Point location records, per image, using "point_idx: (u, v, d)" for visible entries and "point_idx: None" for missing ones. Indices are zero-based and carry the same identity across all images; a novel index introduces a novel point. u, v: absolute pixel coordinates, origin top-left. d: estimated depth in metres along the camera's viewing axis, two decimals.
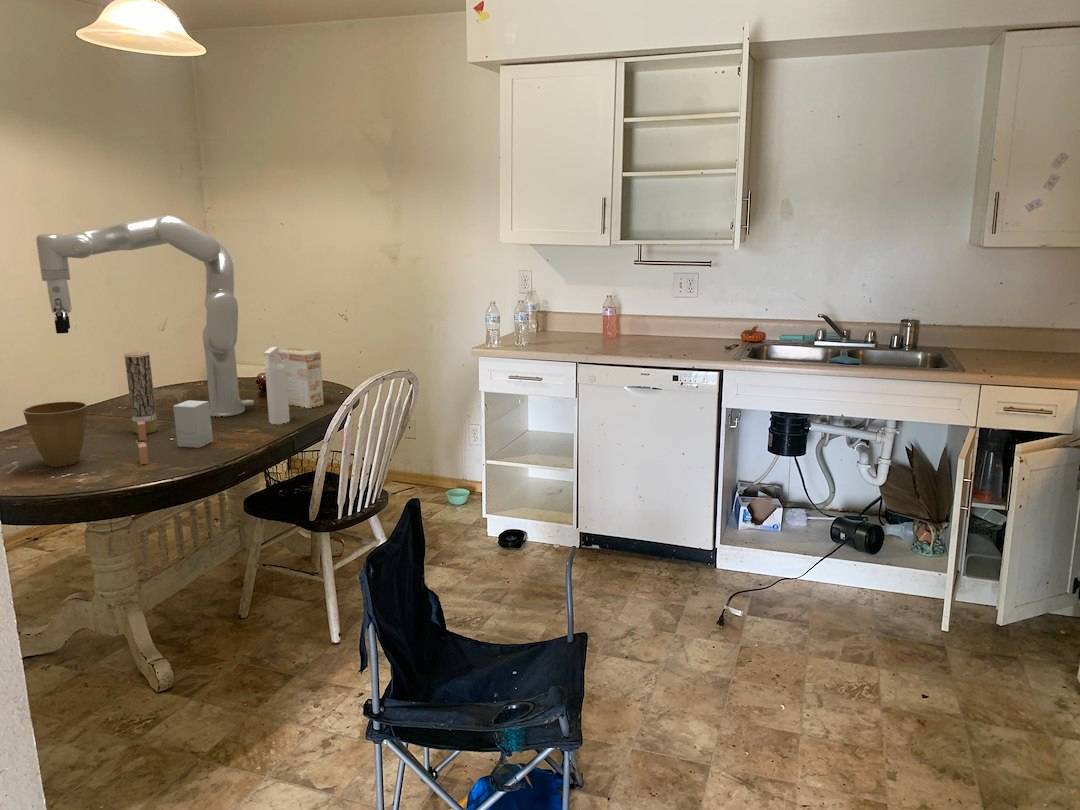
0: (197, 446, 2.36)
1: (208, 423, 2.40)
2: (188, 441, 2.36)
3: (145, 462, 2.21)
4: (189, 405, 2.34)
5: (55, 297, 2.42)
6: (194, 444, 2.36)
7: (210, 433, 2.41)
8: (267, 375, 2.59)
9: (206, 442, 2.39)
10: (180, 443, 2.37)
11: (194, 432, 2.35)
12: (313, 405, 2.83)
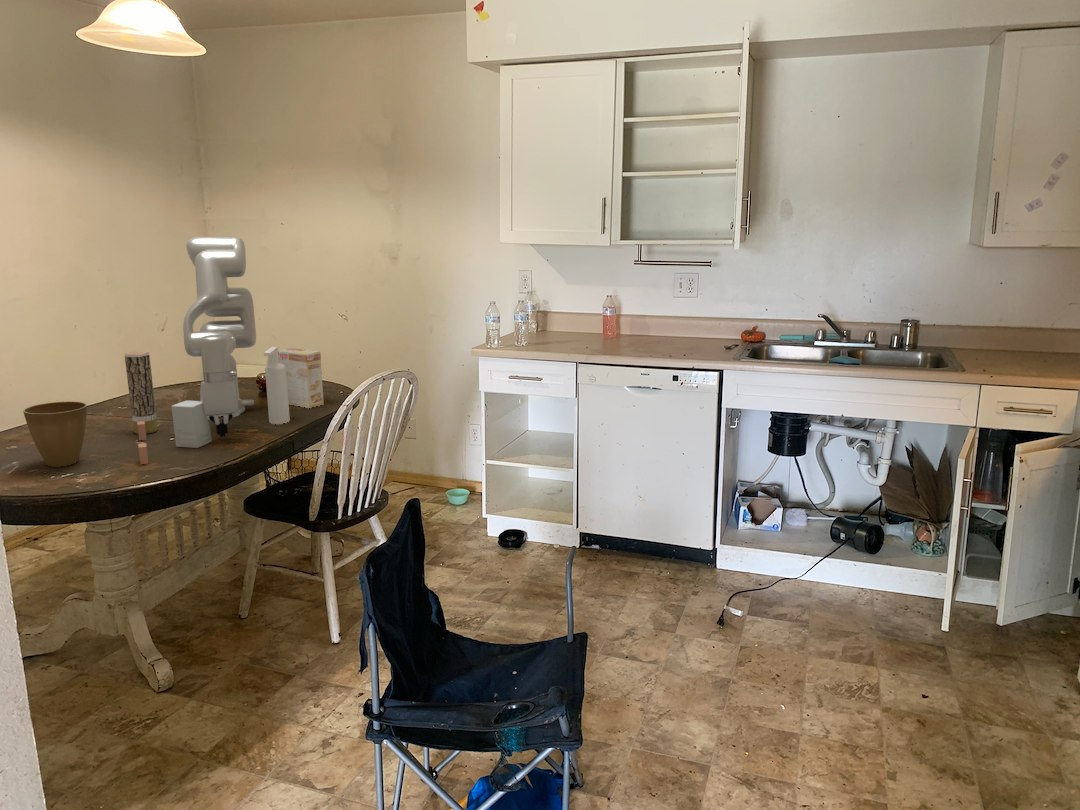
0: (195, 446, 2.35)
1: (206, 423, 2.39)
2: (186, 442, 2.36)
3: (145, 462, 2.21)
4: (187, 405, 2.34)
5: (236, 395, 2.42)
6: (192, 444, 2.35)
7: (208, 433, 2.41)
8: (267, 375, 2.59)
9: (205, 442, 2.39)
10: (179, 443, 2.36)
11: (193, 432, 2.35)
12: (313, 405, 2.83)
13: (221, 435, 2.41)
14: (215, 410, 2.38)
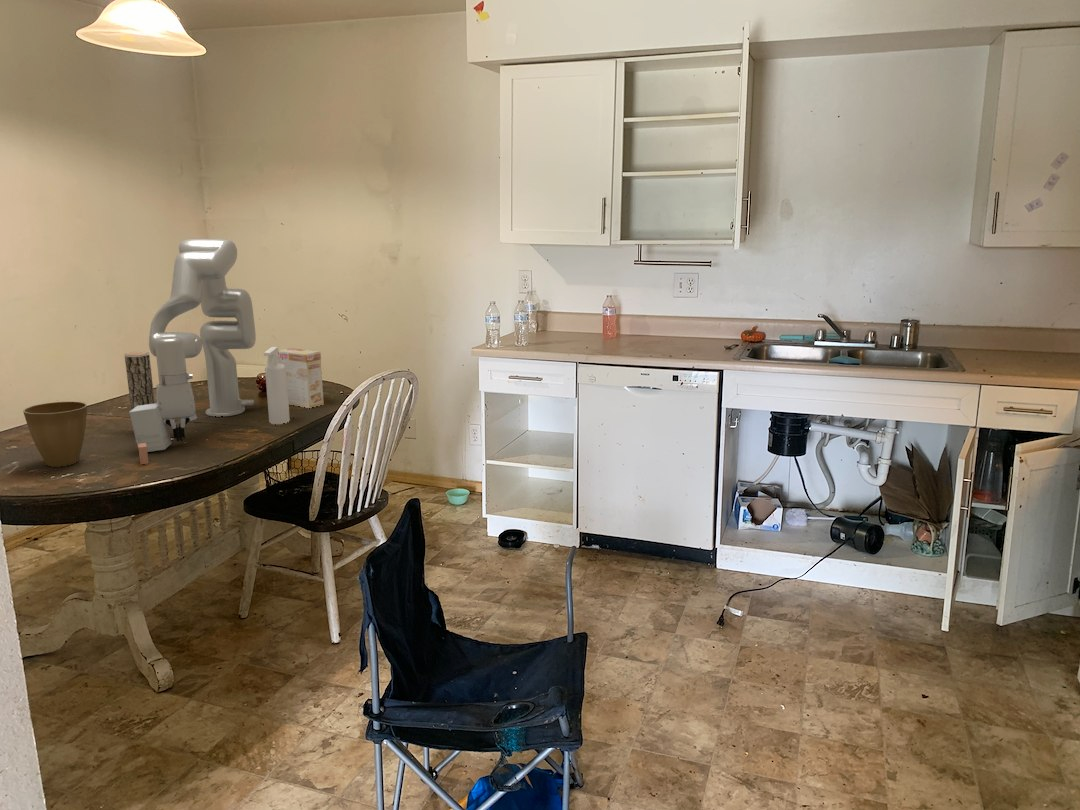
0: (162, 448, 2.31)
1: (165, 424, 2.35)
2: (151, 445, 2.30)
3: (145, 462, 2.21)
4: (147, 408, 2.29)
5: None
6: (159, 446, 2.31)
7: (168, 434, 2.36)
8: (267, 375, 2.59)
9: (168, 444, 2.35)
10: None
11: (158, 434, 2.30)
12: (313, 405, 2.83)
13: (178, 439, 2.36)
14: (171, 414, 2.33)
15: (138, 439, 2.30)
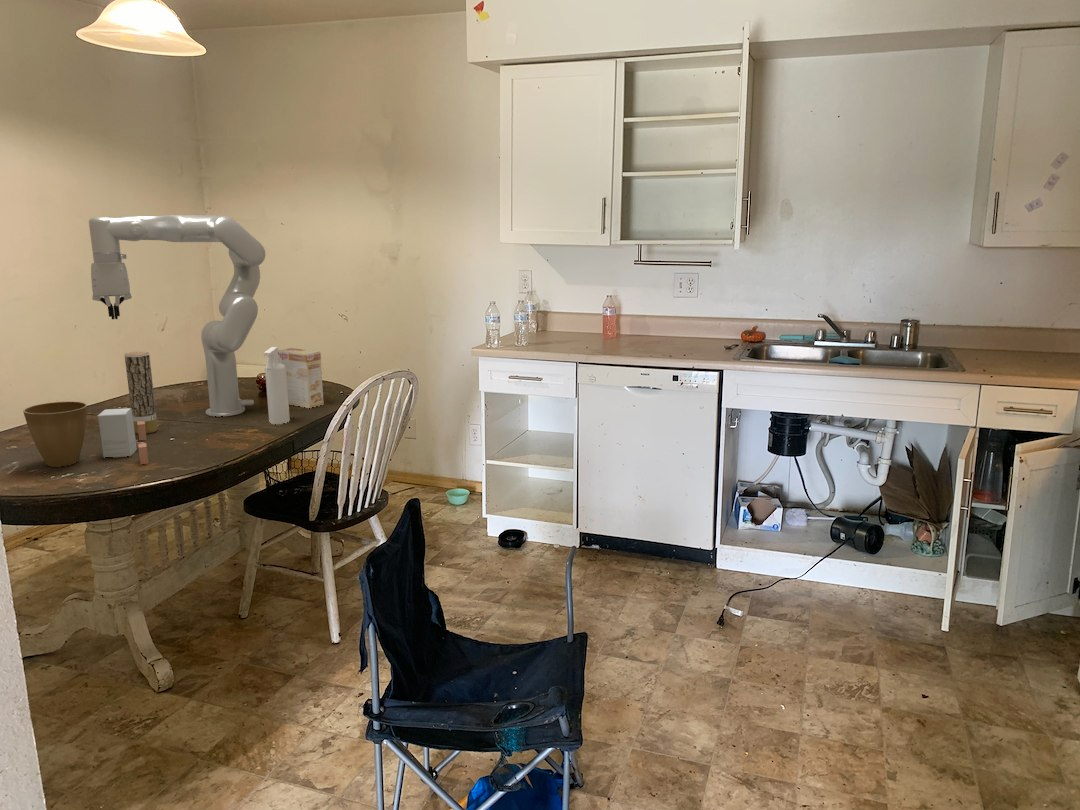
0: (128, 455, 2.27)
1: (133, 430, 2.31)
2: (117, 451, 2.26)
3: (145, 462, 2.21)
4: (116, 413, 2.25)
5: None
6: (125, 453, 2.27)
7: (135, 441, 2.33)
8: (267, 375, 2.59)
9: (134, 450, 2.31)
10: (107, 454, 2.26)
11: (125, 440, 2.26)
12: (313, 405, 2.83)
13: (112, 317, 2.46)
14: (105, 291, 2.43)
15: (104, 444, 2.25)
